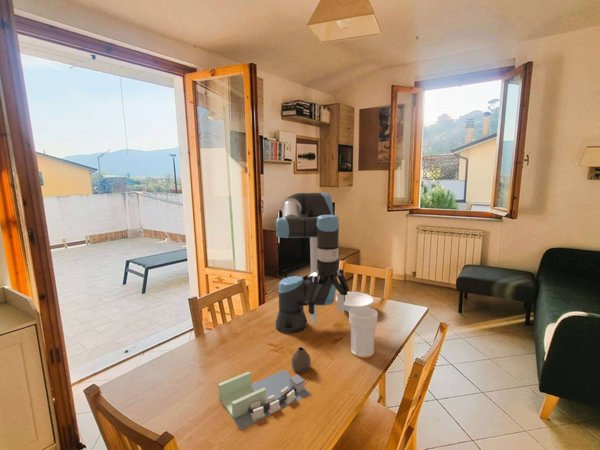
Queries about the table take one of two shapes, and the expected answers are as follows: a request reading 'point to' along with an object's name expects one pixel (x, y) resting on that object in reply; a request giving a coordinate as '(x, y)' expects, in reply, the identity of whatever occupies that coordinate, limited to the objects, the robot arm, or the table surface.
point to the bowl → (356, 300)
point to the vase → (301, 360)
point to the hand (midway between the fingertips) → (327, 316)
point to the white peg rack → (274, 406)
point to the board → (272, 387)
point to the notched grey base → (281, 400)
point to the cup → (362, 330)
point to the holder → (240, 395)
